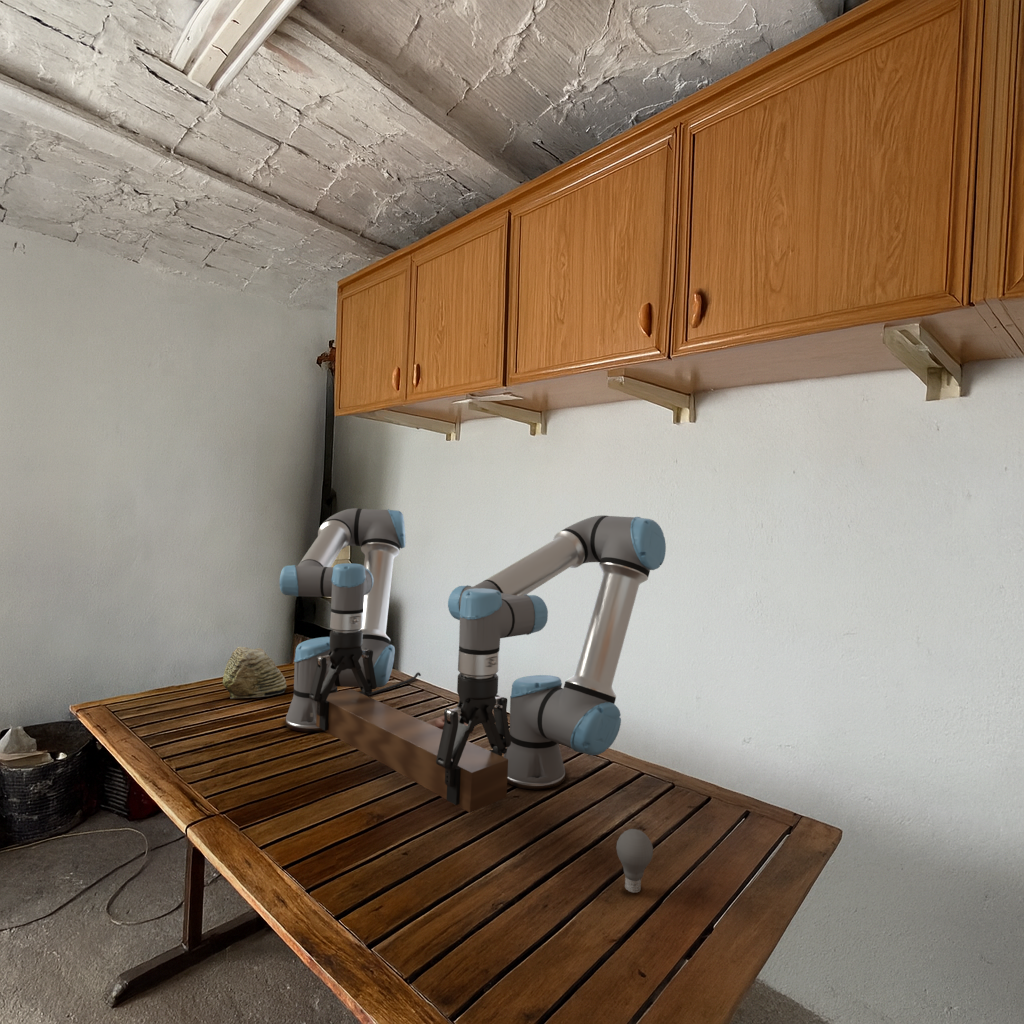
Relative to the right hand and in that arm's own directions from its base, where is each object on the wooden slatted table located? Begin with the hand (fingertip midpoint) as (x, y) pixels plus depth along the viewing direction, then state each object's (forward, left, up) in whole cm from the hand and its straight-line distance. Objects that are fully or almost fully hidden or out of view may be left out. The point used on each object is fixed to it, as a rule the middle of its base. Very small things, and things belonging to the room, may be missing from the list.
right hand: (473, 793), depth 117 cm
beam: (-2, -23, -1) cm, 23 cm away
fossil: (-17, -107, -10) cm, 109 cm away
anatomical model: (-39, -46, -10) cm, 61 cm away
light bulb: (-8, +29, -10) cm, 32 cm away
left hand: (-5, -46, 0) cm, 46 cm away
